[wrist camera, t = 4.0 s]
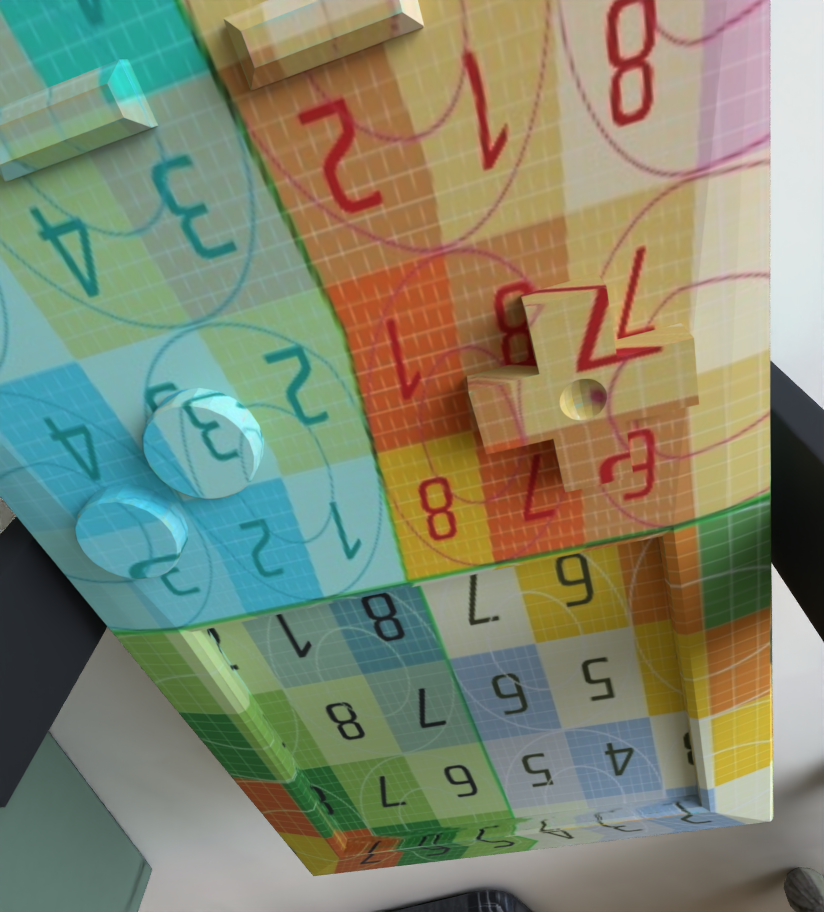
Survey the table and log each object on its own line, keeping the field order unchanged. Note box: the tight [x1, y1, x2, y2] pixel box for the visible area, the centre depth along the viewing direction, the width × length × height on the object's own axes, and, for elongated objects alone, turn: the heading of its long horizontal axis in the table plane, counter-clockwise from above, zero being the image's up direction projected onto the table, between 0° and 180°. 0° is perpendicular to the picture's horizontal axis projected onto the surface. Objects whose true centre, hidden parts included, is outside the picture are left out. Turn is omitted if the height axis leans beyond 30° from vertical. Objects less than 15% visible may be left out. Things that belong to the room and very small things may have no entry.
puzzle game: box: [0, 0, 773, 876], centre depth 12 cm, size 12×5×20 cm
